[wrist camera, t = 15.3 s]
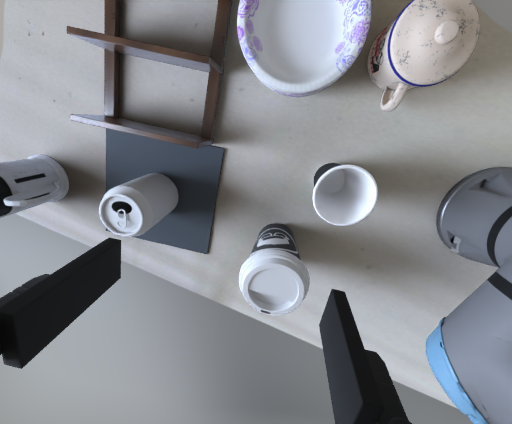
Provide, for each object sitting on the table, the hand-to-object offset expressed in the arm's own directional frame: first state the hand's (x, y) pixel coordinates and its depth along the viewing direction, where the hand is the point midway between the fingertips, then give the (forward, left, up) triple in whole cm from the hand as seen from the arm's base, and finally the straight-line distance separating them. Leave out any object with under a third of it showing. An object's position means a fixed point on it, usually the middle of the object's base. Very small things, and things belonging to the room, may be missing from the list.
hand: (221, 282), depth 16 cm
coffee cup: (-5, +10, -30) cm, 32 cm away
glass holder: (+36, +8, -30) cm, 47 cm away
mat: (+17, +6, -30) cm, 35 cm away
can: (+17, +6, -29) cm, 34 cm away
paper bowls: (-1, -21, -30) cm, 36 cm away
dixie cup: (-11, -3, -30) cm, 32 cm away
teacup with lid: (-15, -20, -30) cm, 39 cm away
